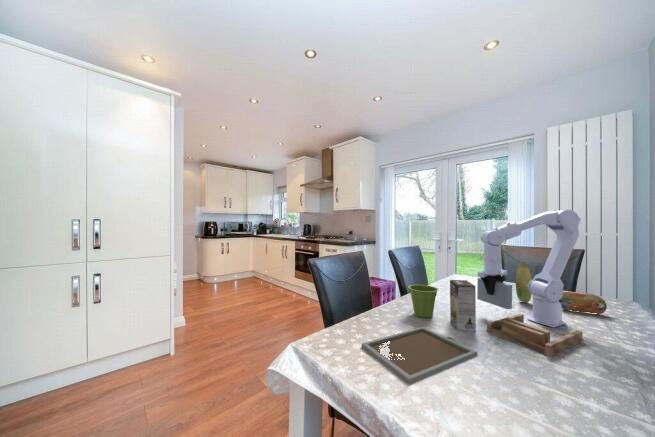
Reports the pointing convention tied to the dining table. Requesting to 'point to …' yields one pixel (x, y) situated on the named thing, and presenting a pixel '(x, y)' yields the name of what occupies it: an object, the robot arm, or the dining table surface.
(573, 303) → the tin
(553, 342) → the rack
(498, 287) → the blue grey rectangular slab
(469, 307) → the coffee box
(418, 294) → the plant pot
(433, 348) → the picture frame
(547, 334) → the offcut
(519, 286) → the vegetable
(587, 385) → the dining table surface
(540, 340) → the offcut
